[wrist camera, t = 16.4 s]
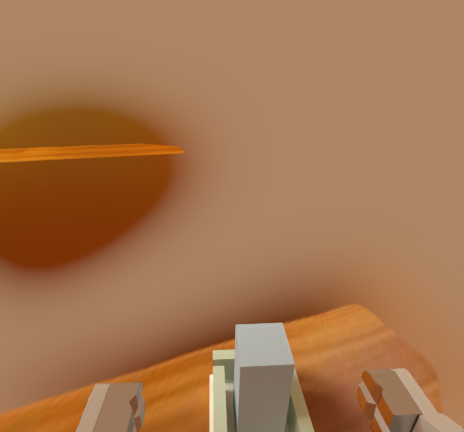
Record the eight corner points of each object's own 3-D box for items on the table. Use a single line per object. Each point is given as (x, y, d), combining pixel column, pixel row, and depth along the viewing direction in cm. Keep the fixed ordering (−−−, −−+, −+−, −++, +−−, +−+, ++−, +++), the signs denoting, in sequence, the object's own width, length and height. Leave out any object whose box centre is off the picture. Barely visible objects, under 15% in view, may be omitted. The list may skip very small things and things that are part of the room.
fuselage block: (236, 448, 33) (240, 366, 28) (233, 402, 38) (235, 324, 33) (282, 445, 34) (295, 364, 28) (272, 399, 39) (282, 322, 33)
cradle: (209, 503, 30) (208, 472, 27) (209, 379, 42) (209, 350, 40) (320, 493, 31) (328, 463, 28) (287, 375, 43) (292, 347, 41)
